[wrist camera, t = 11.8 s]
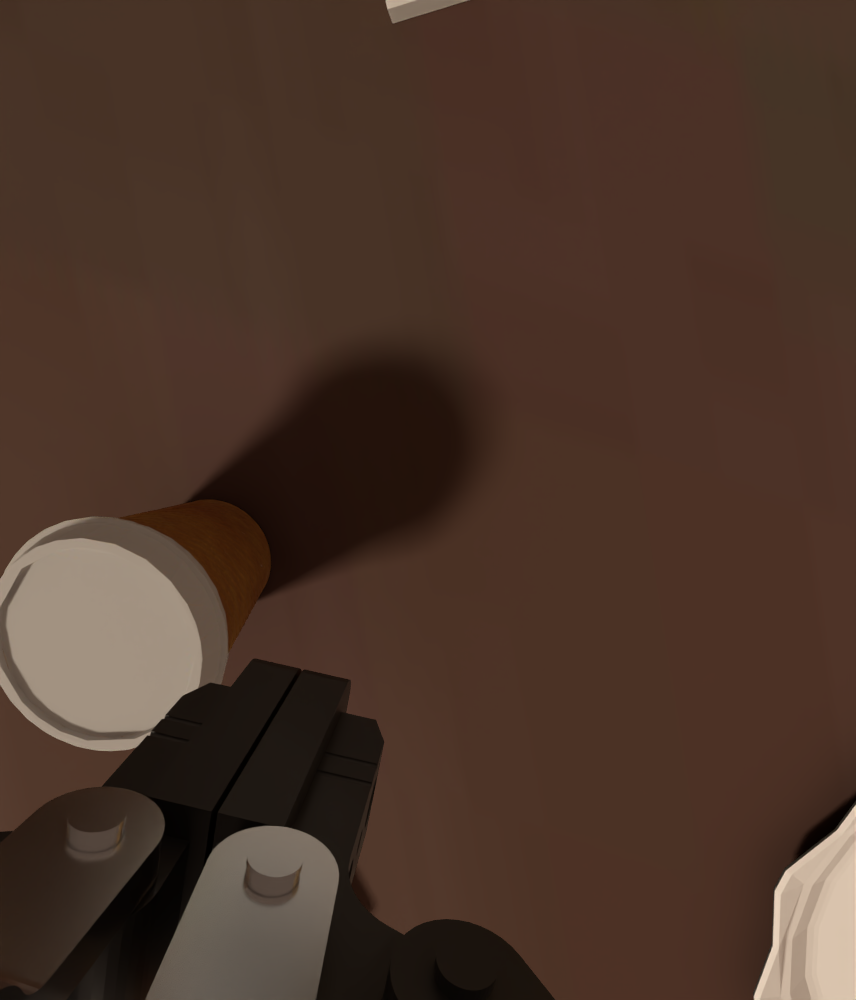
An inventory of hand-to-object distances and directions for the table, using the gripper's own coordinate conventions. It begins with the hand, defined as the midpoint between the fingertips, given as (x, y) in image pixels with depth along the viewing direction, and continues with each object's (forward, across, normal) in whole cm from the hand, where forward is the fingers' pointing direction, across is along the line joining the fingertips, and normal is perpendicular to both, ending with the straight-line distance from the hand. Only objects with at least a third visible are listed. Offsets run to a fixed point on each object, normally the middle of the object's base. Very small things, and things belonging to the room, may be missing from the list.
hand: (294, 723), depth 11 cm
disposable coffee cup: (+27, +11, +8) cm, 30 cm away
